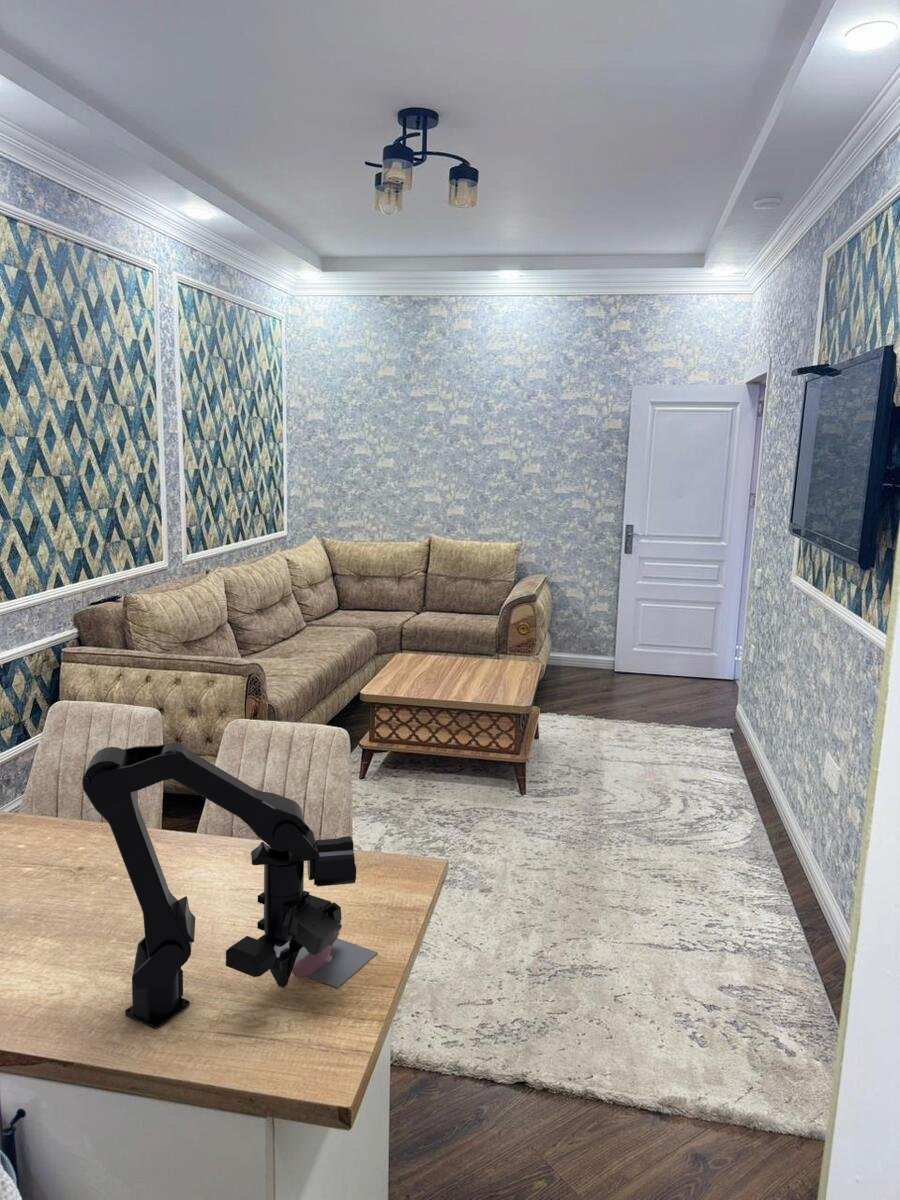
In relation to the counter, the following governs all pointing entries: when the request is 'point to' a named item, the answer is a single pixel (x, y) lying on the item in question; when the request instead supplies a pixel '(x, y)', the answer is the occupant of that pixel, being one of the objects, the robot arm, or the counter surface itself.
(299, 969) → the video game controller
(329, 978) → the mat
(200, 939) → the counter surface
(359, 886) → the counter surface
